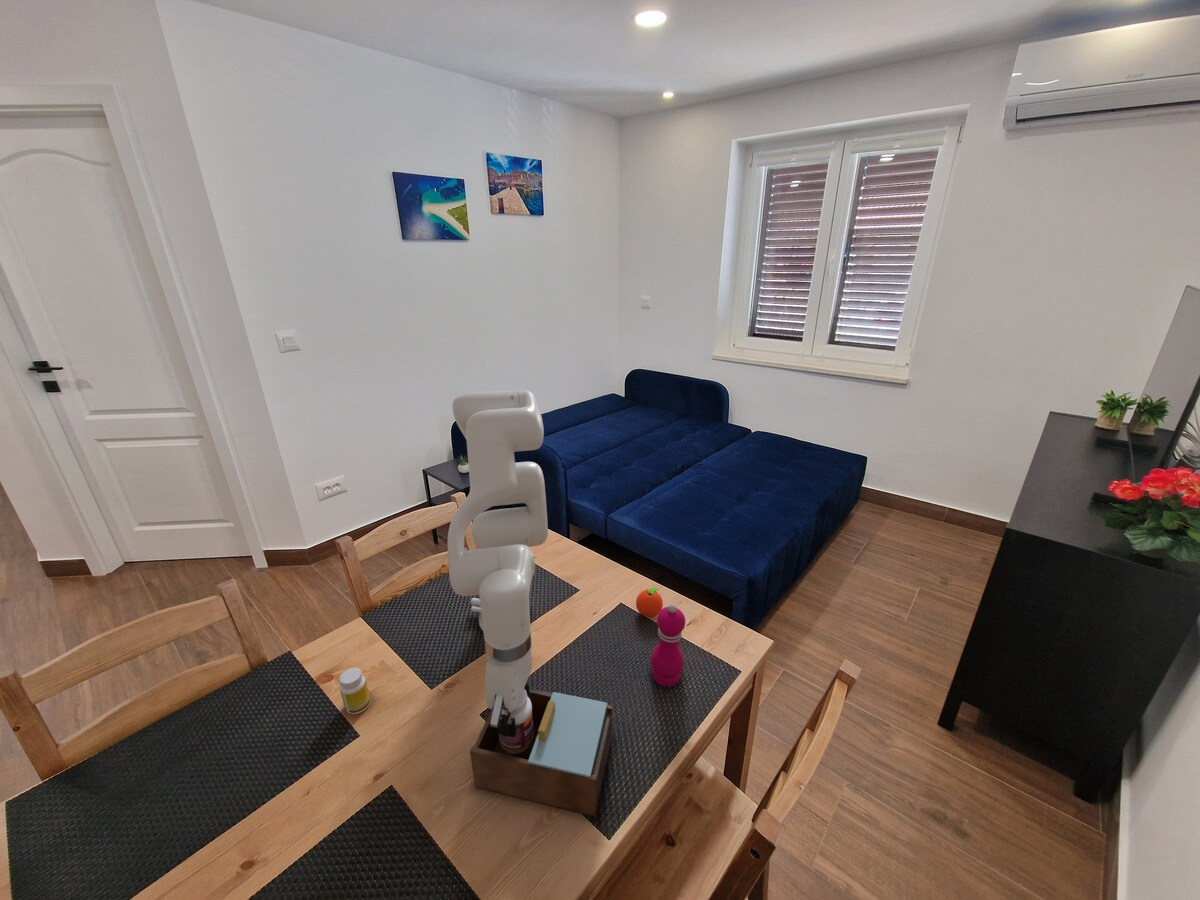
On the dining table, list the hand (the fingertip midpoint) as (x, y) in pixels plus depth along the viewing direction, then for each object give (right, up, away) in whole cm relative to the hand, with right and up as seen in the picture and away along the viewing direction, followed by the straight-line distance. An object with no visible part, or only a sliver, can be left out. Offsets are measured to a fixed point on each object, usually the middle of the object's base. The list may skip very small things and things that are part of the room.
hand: (514, 715), depth 87 cm
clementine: (+28, +5, +40) cm, 50 cm away
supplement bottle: (-35, -6, +14) cm, 38 cm away
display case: (+5, -11, +3) cm, 13 cm away
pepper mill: (+30, -3, +22) cm, 38 cm away
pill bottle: (0, -6, +2) cm, 6 cm away
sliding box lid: (+10, -2, -1) cm, 10 cm away
